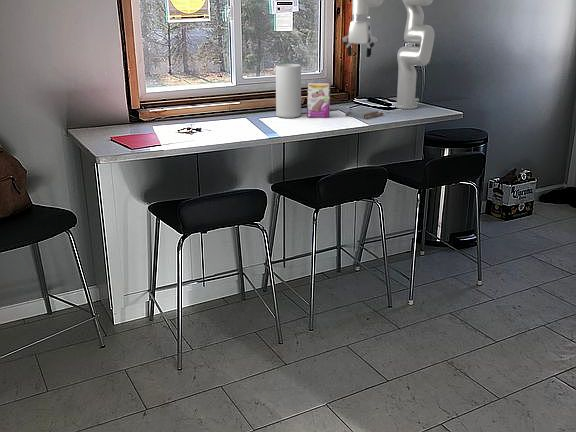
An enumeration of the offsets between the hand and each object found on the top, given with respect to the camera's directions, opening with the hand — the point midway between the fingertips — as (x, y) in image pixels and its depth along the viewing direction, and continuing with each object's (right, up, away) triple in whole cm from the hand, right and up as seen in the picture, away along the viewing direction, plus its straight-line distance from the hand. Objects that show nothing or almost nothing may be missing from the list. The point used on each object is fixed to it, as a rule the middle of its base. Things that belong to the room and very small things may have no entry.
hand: (359, 56), depth 301 cm
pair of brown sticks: (+5, -25, +18) cm, 31 cm away
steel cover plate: (+4, -26, +17) cm, 32 cm away
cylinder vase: (-34, -26, +19) cm, 46 cm away
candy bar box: (-19, -27, +16) cm, 36 cm away
